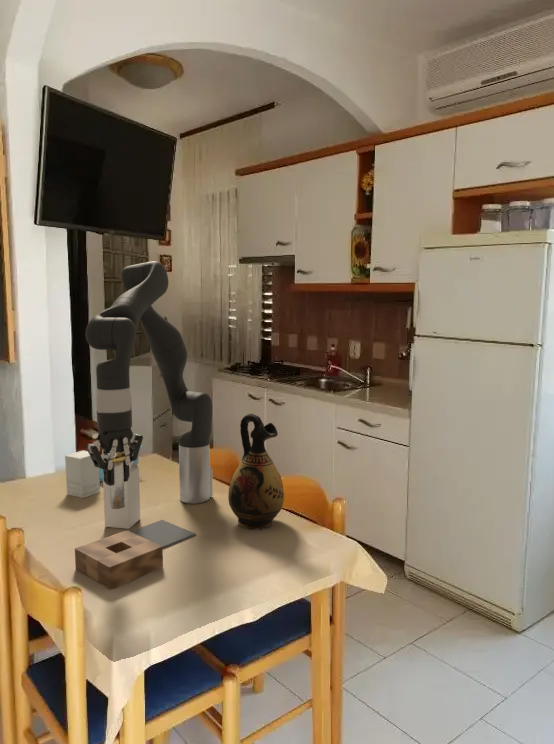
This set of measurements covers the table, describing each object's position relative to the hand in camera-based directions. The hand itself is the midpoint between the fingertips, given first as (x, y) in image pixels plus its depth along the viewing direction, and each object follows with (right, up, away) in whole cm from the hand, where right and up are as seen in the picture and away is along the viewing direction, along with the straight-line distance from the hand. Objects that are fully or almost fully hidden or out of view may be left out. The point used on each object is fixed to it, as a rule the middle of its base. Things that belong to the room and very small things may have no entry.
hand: (116, 482), depth 135 cm
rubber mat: (+5, -18, +21) cm, 28 cm away
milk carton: (-6, -17, +29) cm, 34 cm away
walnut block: (0, -20, +3) cm, 20 cm away
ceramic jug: (+30, -17, +31) cm, 46 cm away
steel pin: (0, -6, +1) cm, 6 cm away
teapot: (-19, -11, +68) cm, 71 cm away
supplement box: (-25, -13, +53) cm, 60 cm away
